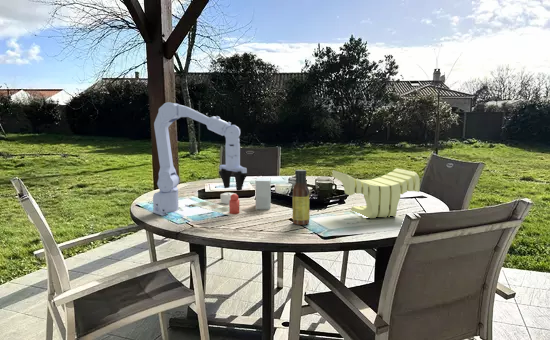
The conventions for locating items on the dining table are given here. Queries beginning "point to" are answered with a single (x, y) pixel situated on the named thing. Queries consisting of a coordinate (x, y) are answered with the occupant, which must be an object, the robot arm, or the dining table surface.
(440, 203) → the dining table surface
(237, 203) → the pawn
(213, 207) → the board
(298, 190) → the sauce bottle
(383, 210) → the slatted curved stool
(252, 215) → the dining table surface
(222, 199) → the die
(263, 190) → the small box
